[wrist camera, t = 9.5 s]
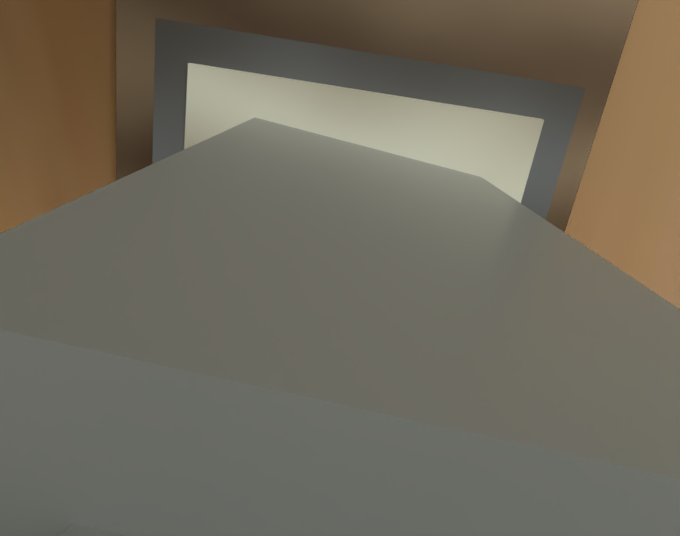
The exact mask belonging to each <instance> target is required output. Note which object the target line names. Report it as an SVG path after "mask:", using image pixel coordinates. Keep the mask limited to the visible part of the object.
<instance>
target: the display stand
mask: <svg viewBox="0 0 680 536" xmlns="http://www.w3.org/2000/svg"><path fill="white" fill-rule="evenodd" d="M638 1H639V0H116V175H117V180H119V179H121V178H123V177H125V176H128V175H130V174H132V173H134V172H136V171H139V170H141V169H143V168H145V167H147V166H149V165H152V164H154V163H156V162H158V161H160V160H163V159H165V158H167V157H169V156H171V155H174V154H176V153H178V152H180V151H182V150H184V149H187V148H189V147H191V146H193V145H195V144H198V143H200V142H202V141H204V140H206V139H209V138H211V137H213V136H215V135H217V134H220V133H222V132H224V131H226V130H228V129H230V128H233V127H235V126H237V125H239V124H241V123H244V122H246V121H248V120H250V119H252V118H259V119H263V120H267V121H270V122H274V123H278V124H282V125H286V126H289V127H293V128H297V129H301V130H305V131H308V132H312V133H316V134H320V135H324V136H327V137H331V138H335V139H339V140H343V141H346V142H350V143H354V144H358V145H362V146H365V147H369V148H373V149H377V150H381V151H384V152H388V153H392V154H396V155H400V156H403V157H407V158H411V159H415V160H419V161H422V162H426V163H430V164H434V165H438V166H441V167H445V168H449V169H453V170H457V171H460V172H464V173H468V174H472V175H476V176H479V177H482V178H484V179H485V180H487V181H488V182H490V183H491V184H493V185H494V186H496V187H497V188H499V189H500V190H502V191H503V192H505V193H506V194H508V195H509V196H511V197H512V198H514V199H515V200H517V201H518V202H520V203H521V204H523V205H524V206H526V207H527V208H529V209H530V210H532V211H533V212H535V213H536V214H538V215H539V216H541V217H542V218H544V219H545V220H547V221H548V222H550V223H551V224H553V225H554V226H556V227H557V228H559V229H560V230H562V231H563V232H565V229H566V226H567V222H568V219H569V216H570V213H571V210H572V207H573V204H574V201H575V197H576V194H577V191H578V188H579V185H580V182H581V179H582V176H583V172H584V169H585V166H586V163H587V160H588V157H589V154H590V151H591V147H592V144H593V141H594V138H595V135H596V132H597V129H598V126H599V123H600V119H601V116H602V113H603V110H604V107H605V104H606V101H607V98H608V94H609V91H610V88H611V85H612V82H613V79H614V76H615V73H616V69H617V66H618V63H619V60H620V57H621V54H622V51H623V48H624V44H625V41H626V38H627V35H628V32H629V29H630V26H631V23H632V19H633V16H634V13H635V10H636V7H637V4H638Z"/></svg>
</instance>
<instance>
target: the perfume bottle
mask: <svg viewBox="0 0 680 536" xmlns="http://www.w3.org/2000/svg"><path fill="white" fill-rule="evenodd" d="M0 536H680V309H679V308H677V307H676V306H674V305H673V304H671V303H670V302H668V301H667V300H665V299H664V298H662V297H661V296H659V295H658V294H656V293H655V292H653V291H652V290H650V289H649V288H647V287H646V286H644V285H643V284H641V283H640V282H638V281H637V280H635V279H634V278H632V277H631V276H629V275H628V274H626V273H625V272H623V271H622V270H620V269H619V268H617V267H616V266H614V265H613V264H611V263H610V262H608V261H607V260H605V259H604V258H602V257H601V256H599V255H598V254H596V253H595V252H593V251H592V250H590V249H589V248H587V247H586V246H584V245H583V244H581V243H580V242H578V241H577V240H575V239H574V238H572V237H571V236H569V235H568V234H566V233H565V232H563V231H562V230H560V229H559V228H557V227H556V226H554V225H553V224H551V223H550V222H548V221H547V220H545V219H544V218H542V217H541V216H539V215H538V214H536V213H535V212H533V211H532V210H530V209H529V208H527V207H526V206H524V205H523V204H521V203H520V202H518V201H517V200H515V199H514V198H512V197H511V196H509V195H508V194H506V193H505V192H503V191H502V190H500V189H499V188H497V187H496V186H494V185H493V184H491V183H490V182H488V181H487V180H485V179H484V178H482V177H479V176H476V175H472V174H468V173H464V172H460V171H457V170H453V169H449V168H445V167H441V166H438V165H434V164H430V163H426V162H422V161H419V160H415V159H411V158H407V157H403V156H400V155H396V154H392V153H388V152H384V151H381V150H377V149H373V148H369V147H365V146H362V145H358V144H354V143H350V142H346V141H343V140H339V139H335V138H331V137H327V136H324V135H320V134H316V133H312V132H308V131H305V130H301V129H297V128H293V127H289V126H286V125H282V124H278V123H274V122H270V121H267V120H263V119H259V118H252V119H250V120H248V121H246V122H244V123H241V124H239V125H237V126H235V127H233V128H230V129H228V130H226V131H224V132H222V133H220V134H217V135H215V136H213V137H211V138H209V139H206V140H204V141H202V142H200V143H198V144H195V145H193V146H191V147H189V148H187V149H184V150H182V151H180V152H178V153H176V154H174V155H171V156H169V157H167V158H165V159H163V160H160V161H158V162H156V163H154V164H152V165H149V166H147V167H145V168H143V169H141V170H139V171H136V172H134V173H132V174H130V175H128V176H125V177H123V178H121V179H119V180H117V181H114V182H112V183H110V184H108V185H106V186H104V187H101V188H99V189H97V190H95V191H93V192H90V193H88V194H86V195H84V196H82V197H79V198H77V199H75V200H73V201H71V202H68V203H66V204H64V205H62V206H60V207H58V208H55V209H53V210H51V211H49V212H47V213H44V214H42V215H40V216H38V217H36V218H33V219H31V220H29V221H27V222H25V223H23V224H20V225H18V226H16V227H14V228H12V229H9V230H7V231H5V232H3V233H1V234H0Z"/></svg>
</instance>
